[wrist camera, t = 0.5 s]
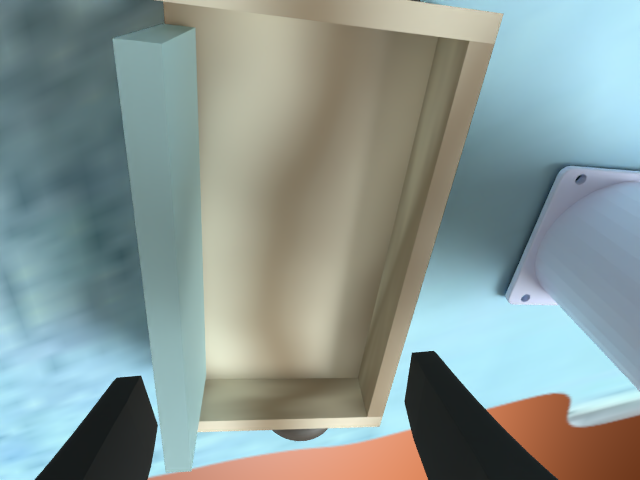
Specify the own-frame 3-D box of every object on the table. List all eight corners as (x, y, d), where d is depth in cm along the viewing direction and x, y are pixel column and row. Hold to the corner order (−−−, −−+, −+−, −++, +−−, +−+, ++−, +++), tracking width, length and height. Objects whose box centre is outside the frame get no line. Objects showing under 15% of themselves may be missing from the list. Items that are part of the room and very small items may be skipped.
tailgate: (195, 27, 13) (161, 44, 9) (206, 374, 21) (191, 471, 17) (162, 23, 13) (112, 38, 9) (186, 374, 21) (165, 472, 17)
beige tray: (458, -23, 15) (515, -28, 11) (360, 378, 25) (375, 438, 22) (168, -67, 13) (135, -88, 10) (193, 380, 24) (181, 445, 20)
